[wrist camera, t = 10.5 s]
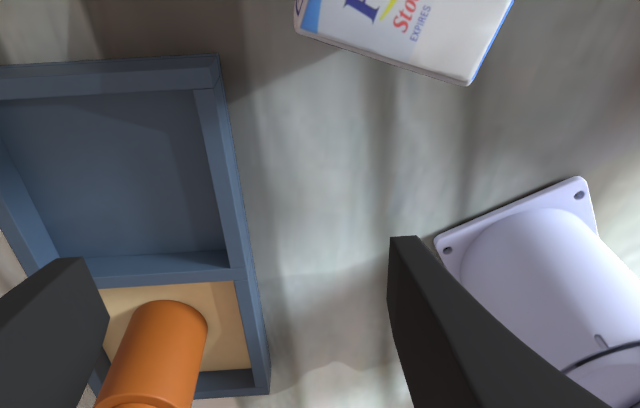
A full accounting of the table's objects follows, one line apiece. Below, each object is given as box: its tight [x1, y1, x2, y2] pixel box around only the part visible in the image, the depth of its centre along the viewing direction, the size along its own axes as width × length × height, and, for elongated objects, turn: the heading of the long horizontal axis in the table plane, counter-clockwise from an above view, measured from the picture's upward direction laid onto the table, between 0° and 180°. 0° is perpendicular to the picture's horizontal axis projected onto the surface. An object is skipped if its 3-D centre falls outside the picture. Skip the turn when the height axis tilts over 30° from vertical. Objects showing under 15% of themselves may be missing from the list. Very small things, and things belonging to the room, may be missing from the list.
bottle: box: [93, 300, 208, 408], centre depth 22 cm, size 4×4×8 cm
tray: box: [0, 53, 271, 400], centre depth 22 cm, size 20×11×2 cm, turn 3°
